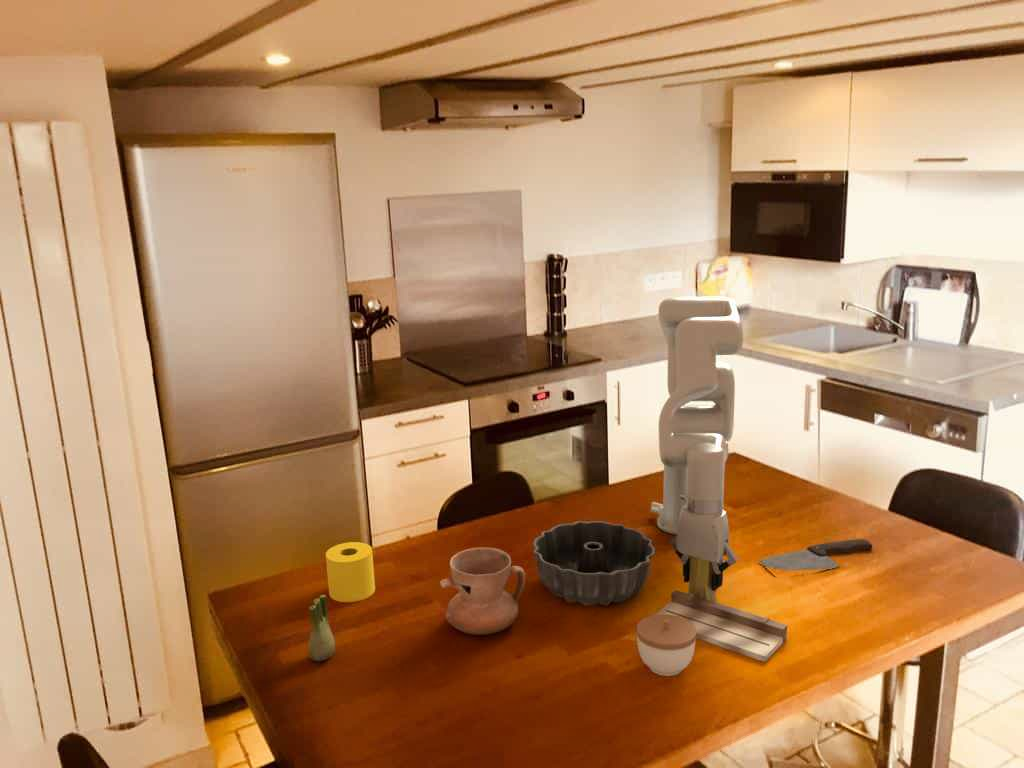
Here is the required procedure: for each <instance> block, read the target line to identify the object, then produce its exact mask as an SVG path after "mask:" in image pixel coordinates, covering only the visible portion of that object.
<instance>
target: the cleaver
mask: <svg viewBox="0 0 1024 768" xmlns="http://www.w3.org/2000/svg"><path fill="white" fill-rule="evenodd" d="M872 549H873V544H872V543H871V542H870V541H868V540H867V539H864V538H862V539H861V538H860V539H858V538H857V539H848V540H839V541H832V542H827V543H825V542H824V543H820V544H814V545H810V546H807V548H805V549H801V550H797V551H796V550H795V551H790V552H787V553H781V554H776V555H773V556H769V557H766V558H761V559H759V561H760V562H761V563H762V564H763V565H764V566H765V567H768V568H769V567H770V568H771V567H772V568H773V569H775V570H776V569H777V570H778V568H779V570H781V569H783V571H784V569H785V570H787V571H788V570H789V571H791V570H793V571H794V570H796V569H797V570H806V569H807V570H810V569H811V570H817V569H830V570H832V568H833V569H835V568H836V569H837V568H838V567H839V568H840V565H839V564H838V563H837V562H836V561H835V560H833V559H832V558H830V557H829V556H828V555H834V554H833V553H841V555H842V554H843V553H845V554H850V553H854V552H859V551H860V552H861V551H863V552H864V551H865V552H866V551H867V552H868V551H872ZM849 552H850V553H849ZM826 554H828V555H826ZM759 561H758V562H759ZM790 569H791V570H790ZM797 570H796V571H797ZM781 571H782V570H781Z"/></svg>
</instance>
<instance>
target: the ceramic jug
mask: <svg viewBox="0 0 1024 768" xmlns="http://www.w3.org/2000/svg"><path fill="white" fill-rule="evenodd" d="M511 565H512V559H511V556H510V555H509V553H507V552H506V551H504V550H502V549H499V548H495V547H494V548H493V547H481V546H480V547H473V548H472V547H471V548H468V549H464V550H462V551H458V552H457V553H455V554H454V555H453V556H452V557H451V558H450V561H449V568H450V573H451V578H450V577H449V578H443V579H441V580H440V581H439V584H440V586H441V588H443V589H446V588H450V587H451V588H453V589H456V590H458V591H459V593H457V594H455V595H454V596H453V597H452V598H451V599H450V600H449V602H448V604H447V607H446V612H445V618H446V619H445V620H446V621H447V622H448V624H450V625H451V626H452V627H454V628H455V629H457V630H458V631H460V632H462V633H464V634H465V633H466V634H470V635H474V636H483V635H484V636H485V635H491V634H495V633H498V632H501V631H503V630H505V629H507V628H508V627H510V626H511V625H512V624H513V623H514V622H515V621H516V619H517V617H518V615H519V605H518V601H519V598H520V597H521V594H522V592H523V590H524V587H525V584H526V583H525V582H526V572H525V570H524V569H523V568H522V567H521V566H519V565H512V566H511ZM514 574H517V583H516V587H515V589H514V591H513V594H510V593H508V592H507V591H505V590H504V588H505V586H506V583H507V581H508V579H509V578H510V577H511V576H513V575H514Z"/></svg>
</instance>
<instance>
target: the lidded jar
mask: <svg viewBox="0 0 1024 768" xmlns="http://www.w3.org/2000/svg"><path fill="white" fill-rule="evenodd" d="M636 637H637V638H636V640H637V649H638V653H639V656H640V657H641V660H642V662H643V663H644V664H645V665H646V666H647V667H648V668H649V670H650V671H651V672H653V673H654V674H656V675H659V676H664V677H671V676H676V675H678V674H680V673H681V672H682V671H683V670H684V669H686V668H687V667H688V665H689V664H690V663H691V661H692V659H693V657H694V654H695V647H696V639H697V638H696V629H695V627H694V625H693V624H692V623H691V622H689V621H688V620H686V619H684V618H681V617H678V616H674V615H665V614H660V615H655V614H654V615H649V616H647V617H644V618H643V619H641V620H640V621H639V622H638V623H637V625H636Z"/></svg>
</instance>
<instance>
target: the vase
mask: <svg viewBox="0 0 1024 768" xmlns="http://www.w3.org/2000/svg"><path fill="white" fill-rule="evenodd" d="M713 572H714V568H713V565H712V562H709V561H706V560H702V559H699V558H695V557H692V556H690V570H689V581H688V594H694V595H695V596H697V597H700V598H703V599H707V600H710V601H713V602H716V603H718V602H717V601H718V599H717V590H716V591H712V590H711V580H712V573H713Z"/></svg>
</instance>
